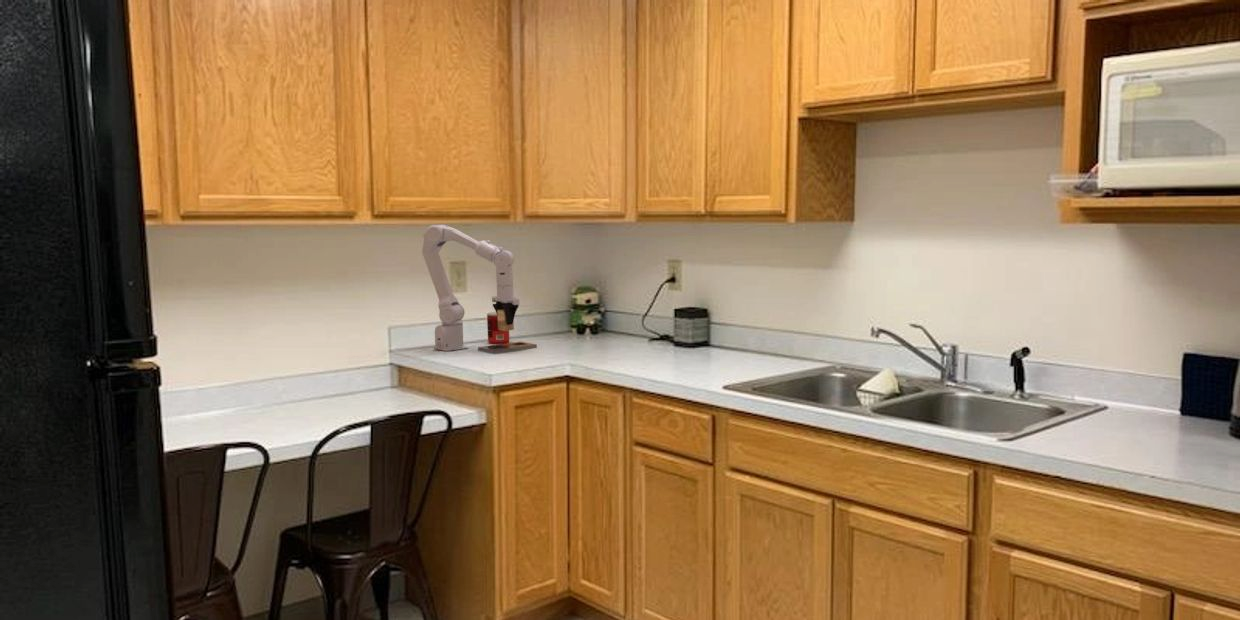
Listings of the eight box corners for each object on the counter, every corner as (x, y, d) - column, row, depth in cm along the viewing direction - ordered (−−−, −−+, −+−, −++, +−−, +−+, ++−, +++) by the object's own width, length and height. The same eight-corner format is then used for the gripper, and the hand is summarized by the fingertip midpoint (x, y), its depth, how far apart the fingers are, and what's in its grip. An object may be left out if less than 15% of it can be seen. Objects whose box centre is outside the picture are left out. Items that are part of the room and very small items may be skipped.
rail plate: (493, 353, 309) (493, 350, 309) (478, 350, 317) (477, 346, 317) (536, 347, 321) (536, 344, 321) (520, 344, 329) (520, 341, 329)
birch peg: (504, 330, 315) (503, 310, 314) (498, 329, 318) (497, 309, 317) (513, 329, 318) (513, 309, 317) (507, 328, 321) (507, 308, 320)
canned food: (513, 341, 336) (512, 312, 334) (499, 344, 329) (499, 314, 328) (497, 340, 340) (496, 311, 338) (483, 343, 333) (482, 313, 332)
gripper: (526, 285, 313) (527, 324, 315) (503, 283, 324) (504, 320, 326) (509, 287, 309) (510, 326, 310) (486, 284, 320) (487, 322, 321)
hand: (506, 323), depth 318 cm, fingers closed on birch peg, 4 cm apart
